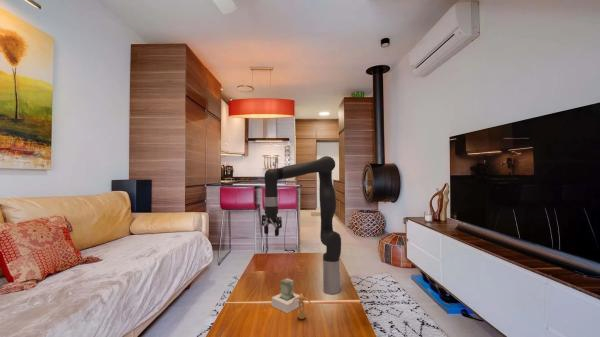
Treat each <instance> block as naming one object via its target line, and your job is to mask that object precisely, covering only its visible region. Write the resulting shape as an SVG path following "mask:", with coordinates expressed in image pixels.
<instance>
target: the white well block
mask: <svg viewBox="0 0 600 337" xmlns="http://www.w3.org/2000/svg"><path fill="white" fill-rule="evenodd" d="M299 296H300V294H298V293H295V292H293V298H292V299H290V300H289V301H286V300H283V299H281V292H280V293H279V294H276V295H273V296H272V297H271V307H273V308H276V309H278V310H279V311H282V312H284V313H286V314H289V313H291V312H293V311H294V310H296V309H299V303H298V302H300V301H299V299H296V300H295V301H294V302H293V300H294V299H295V298H297V297H299ZM292 302H293V304H292ZM301 306H302V307H303V305H302V304H301V305H300V307H301Z"/></svg>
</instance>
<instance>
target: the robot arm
mask: <svg viewBox="0 0 600 337" xmlns="http://www.w3.org/2000/svg"><path fill="white" fill-rule="evenodd" d="M335 168H336V161H335V158H333V157H331V156H328V155H325V156H322V157H320V158H319V159H315V160H312V161H309V162H303V163H294V164H289V165H285V166H282V167H275V168H268V169H267V170H266V171H265V172H264V187H265V188H264V206H263V207H264V208H263V209H264V211H263V212H264V214H261V223H260V224H261V226H263V228H264V229H263V232H264V235H268V234H269V225H272V226H273V227H274V237H279V235H280V229H282V228H283V220H282V216H278V214H279V198H278V196H279V195H278V194H279V193H278V181H281V180H285V179H286V180H287V179H292V178H297V177H301V176H305V175H308V174H313V173H318V178H319V194H318V196H319V210H320V234H319V237H320V242H321V244H322V245H324V246H325V248H326V251H325V253H323V255H322V286H323V287H322V289H323V292H324V293H325V294H329V295H335V294H339V293H340V292H341V290H342V289H341V272H340V271H341V269H340V264H341V263H340V257H341V254H342V238H341V237H342V236H341V234H340V233H339V232H337V231H334V228H333V227H334V226H333V218H334V216H335V212H336V209H337V198H336V191H335V187H334V184H333V178H332V176H333V170H334V169H335Z"/></svg>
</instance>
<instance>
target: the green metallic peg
mask: <svg viewBox="0 0 600 337" xmlns="http://www.w3.org/2000/svg"><path fill="white" fill-rule="evenodd" d="M280 293H281V299H283V300H286V301H289V300H290V299H292V298H293V293H294V280H293V279H291V278H284V279H282V280H280Z"/></svg>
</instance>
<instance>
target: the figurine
mask: <svg viewBox="0 0 600 337" xmlns="http://www.w3.org/2000/svg"><path fill="white" fill-rule="evenodd" d="M299 295H300V296H299V297H297V298H295V299H294V300H293V302H294V301H295V300H296V299H299V301H300V302H298V303H299V307H298V310H297V312H296V314H297V315H296V317H297V318H299V319H300V320H304V319H305V318H306V316H307V312H306V310H305V309H304V308H305V301H304V300H306V301H308V302H309V303H310V305H311V303H312V302H311V301H310V299H309V298H307V297H305V296H304V295H303V293H302V292H301V293H300V294H299ZM293 302H292V304H293ZM301 304H302V308H301V306H300V305H301Z"/></svg>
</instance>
